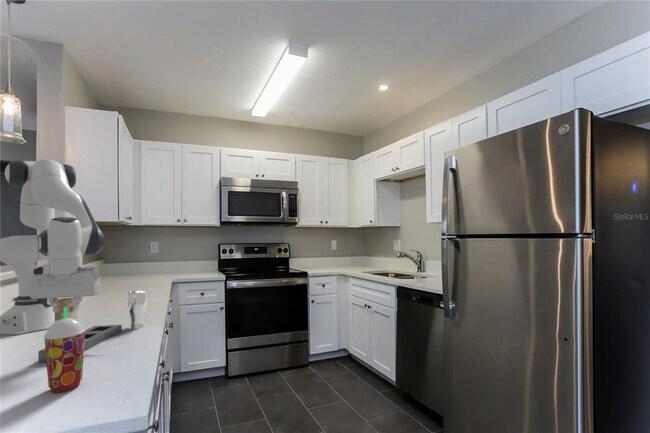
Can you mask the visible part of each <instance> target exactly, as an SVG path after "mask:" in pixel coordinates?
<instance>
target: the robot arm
mask: <svg viewBox="0 0 650 433" xmlns="http://www.w3.org/2000/svg"><path fill="white" fill-rule="evenodd" d="M4 176H5V179H6V182H7V183H8V184H9V185H10V186H11V187H14V188H17V189H18V188H19V189H21V193H20V200H19V201H20V203H19V204H20V205H19V206H20V207H19V208H20V209H19V220H20V222H21V224H23V225H25V226H26V227H29V228H32V229H35V230H37V231H38V234H35V235H34V234H33V235H31V234H30V235H13V236H6V237H2V238H0V262H2V263H4V264H5V265H6V266H8V267H9V268H11V269H12V270H13V272H14V273H15V275H16V278H17V283H18V296H16V297H14V298H12V299H11V302H14V305H12V306H11V307H9V309H7V310H6V311H4V312H3V313H2V314H0V335H21V334H27V333H31V332H39V331H42V330H46V329H47V330H48V329H49V327H50V326H51V325H52V324H53V323H55V300H58V299H62V298H74V300H76V301H75V303H74V305H72V306H70V308H71V309H70V311H79V310H80V307H79V306H80V304H81V302H82V300H83V298H84V297H94V296H97V295H99V294H100V293H101V291H102V287H101V280H100V271H99V269H98V268H97V267H95V266H83V256H85V257H87V256H89V257H94V256H96V255H98V254H99V253H100V252H101V251H103V249H105V246H106V245H105V244H106V241H105V240H106V239H105V236H104V233H103V232H102V230H101V229H100V227H99V225H98V224H97V222H96V220H95V218H94V216H93V214H92V212H91V210H90V208H89V206H88V204H87V201H86V200H85V199H84V197H83V196H82V195H80V194H79V193H77V192H75V190H73V188H74V187H75V186H76V184H77V180H78V174H77V170H76V169H75V167H73V166H72V165H70V164H65V163H60V162H58V161H56V160H53V159H51V158H50V159H49V158H44V159H43V158H41V159H39V160H37V161H33V160H31V161H30V160H22V159H21V160H11V161H10V162H9V163H8V164H7V166H6V167H5V170H4ZM55 210H58V211H61V212H62V211H63V212H66V213H69V214H71V215H73V217H69V216H59V217H55V213H56V212H55ZM38 261H39V262H41V261H47V263H45V264H44V263H43V264H42V265H38V266H36V265H35V262H38Z"/></svg>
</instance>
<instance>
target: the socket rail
mask: <svg viewBox="0 0 650 433" xmlns="http://www.w3.org/2000/svg"><path fill="white" fill-rule="evenodd" d="M122 330H123V327H122V324H107V325H94V326H91V327H90V328H87V329H86V331H85V343H84V353H85V352H86V351H88V350H90V349H92V348H93V347H96V346H97V345H99V344H101V343H103V342H105V341H107V340H108V339H110V338H113V337H115V336H116V335H118V334H119V333H121V332H122ZM37 352H38V356H37V357H38V364H40V363H41V364H42V363H43V364H44V363H46V351H45V347H44V348H42V349H40V350H38V351H37ZM46 364H47V363H46Z"/></svg>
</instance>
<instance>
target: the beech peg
mask: <svg viewBox="0 0 650 433" xmlns="http://www.w3.org/2000/svg"><path fill="white" fill-rule="evenodd" d="M75 301H76V300H74V297H62V298H58V300H55V322H56V321H58V320H60V319H63V318H64V307H67V318H73V319H76V320H78V319H77V318H78V316H77V314H78V313H77V311H70V309H71V308H70V306H72V305H74V303H75Z"/></svg>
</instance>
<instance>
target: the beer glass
mask: <svg viewBox="0 0 650 433" xmlns="http://www.w3.org/2000/svg"><path fill="white" fill-rule="evenodd" d="M146 309H147V292H146V290H145V289H143V290H142V289H140V290H139V289H138V290H131V291H127V293H126V310H127V316H128V321H129V323H128V329H129V330H136V329H143V328H145V327H146V323H145V316H146V312H147V311H146Z"/></svg>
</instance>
